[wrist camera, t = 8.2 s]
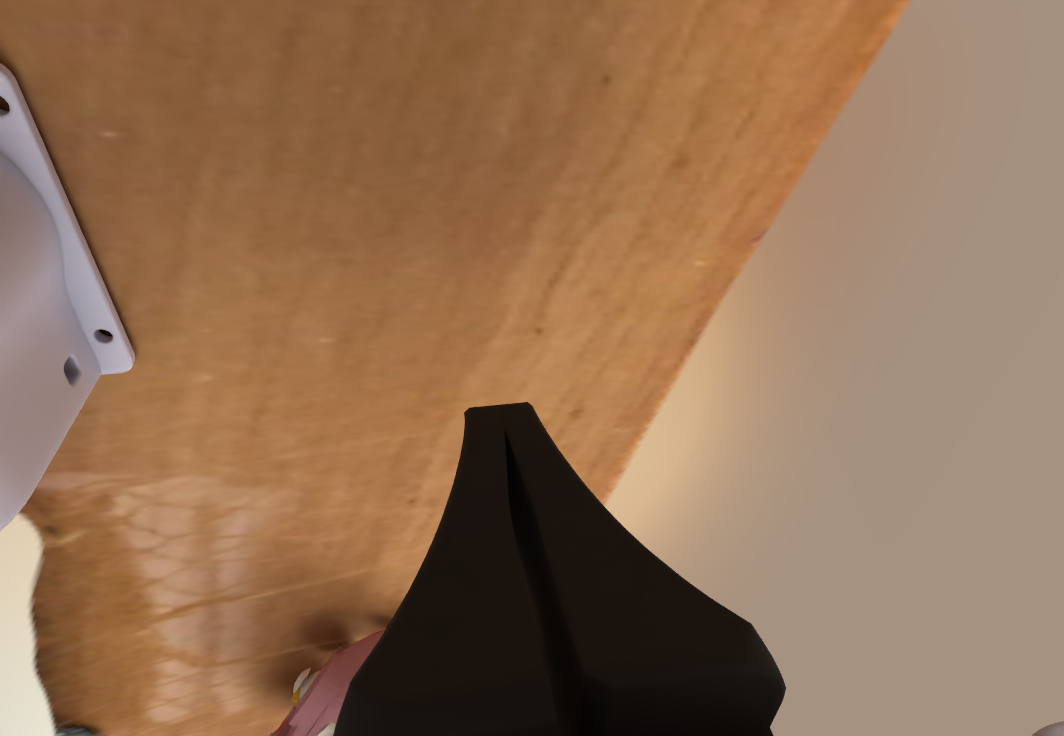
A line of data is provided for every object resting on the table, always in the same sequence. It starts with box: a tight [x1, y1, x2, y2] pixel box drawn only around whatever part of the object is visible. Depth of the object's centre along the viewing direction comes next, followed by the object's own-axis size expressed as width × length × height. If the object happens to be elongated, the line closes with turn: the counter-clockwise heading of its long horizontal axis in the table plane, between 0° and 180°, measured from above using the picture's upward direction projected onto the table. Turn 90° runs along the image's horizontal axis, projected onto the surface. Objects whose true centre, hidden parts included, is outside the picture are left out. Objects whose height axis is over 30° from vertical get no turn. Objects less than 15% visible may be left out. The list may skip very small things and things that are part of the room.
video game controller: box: [270, 630, 385, 736], centre depth 33 cm, size 10×5×7 cm, turn 147°
